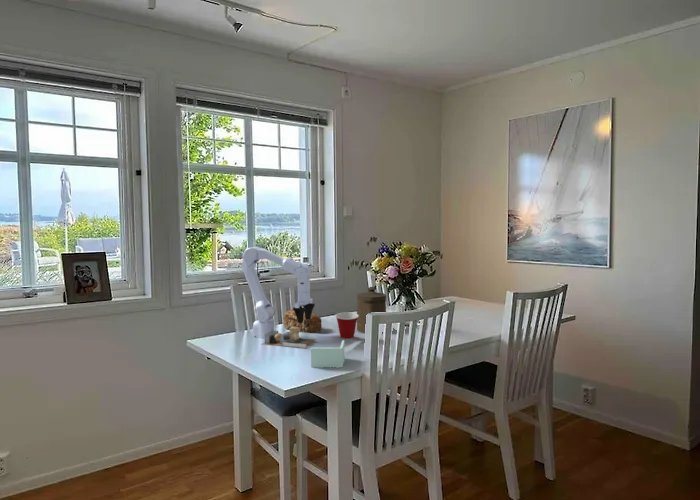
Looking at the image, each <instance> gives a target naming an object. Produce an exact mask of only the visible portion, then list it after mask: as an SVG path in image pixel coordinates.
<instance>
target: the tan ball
mask: <svg viewBox="0 0 700 500" xmlns="http://www.w3.org/2000/svg"><path fill="white" fill-rule="evenodd" d="M282 334H283V333H280V332H278V333H277V334H276V335H275V337H274V339H275V341H276V343H280V335H282Z"/></svg>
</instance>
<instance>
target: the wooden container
mask: <svg viewBox="0 0 700 500" xmlns="http://www.w3.org/2000/svg"><path fill="white" fill-rule="evenodd" d="M375 290H376V287H374V286H369V287H368V291H367V292H360V293H358V294H356V297H357V299H356V314H358V318H357V322H356V330H357V331H358V332H360V333H363V334H366V333H365V324H366V315H367V314H368V313H371V312H386V313H387V294H386V293H384V292H376V291H375Z"/></svg>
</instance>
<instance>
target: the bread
mask: <svg viewBox="0 0 700 500" xmlns="http://www.w3.org/2000/svg"><path fill="white" fill-rule="evenodd" d="M283 325H284V326H283V327H284V329H286V330H288V331H290V328H291V327H299V333H303V334H313V333H318V332H319V333H320V332H321V331H322V326H323V325H322V318H321V317H320V315H318V314H316V313H313V312H312V314H311V318H310V319H306V318H305V312H304V318H303V323H298V320H297V316H296V314H295V312H294V310H293V308H292V309H289V310H287V311H285V312H284V314H283Z"/></svg>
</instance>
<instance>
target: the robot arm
mask: <svg viewBox="0 0 700 500" xmlns="http://www.w3.org/2000/svg"><path fill="white" fill-rule="evenodd" d="M241 255H242V264H241V269H242V272H243V274H244V277H245V280H246V282H247V285H248V287H249V289H250V292H251V295H252V297H253V300H254V303H255V311H256V318H257V320H255V321H254V322H253V323H252V338H255V339H257V338H258V339H264V340H265V334H267V333H269V332H271V331H275V319H274V317H275V315H276V309H275V307H274V306H273V305H272V304H271V302H270V301H269V299H267V297H266V293H265V291H264V289H263V287H262V283H261V282H260V279H259V277H258V274H257V271H256V269H255V267H256V265H257V263H258V262H259V261H260V260H267V261H270V262H272V263H274V264H277V265H280V267H281V268H282V270H284V271H286V272H289V274H292V275H294V276H296V277H297V284H296V285H297V301H296V302H295V303H294V306H293V307H292V309H293V310H294V312H295V314H296V316H297V320H298V323H303V318H304V312H305V318H306V319H310V318H311V314H312V313H313V310H314V307H315V305H316V303H314V298H311V278H310V276H311V272H312V270H311V267H310V266H309V265H308V264H303V263H302V262H298V261H296V260H294V258H292V257H290V258H289V257H286V258H283V257H281V256H280V255H277V254H276V253H274V252H272V251H270V250H268V249H266V248H264V247H261V246H256V245H255V246H253V247H250V246H249V247H247V248H245V250H244V251H243V253H242V254H241Z"/></svg>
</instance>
